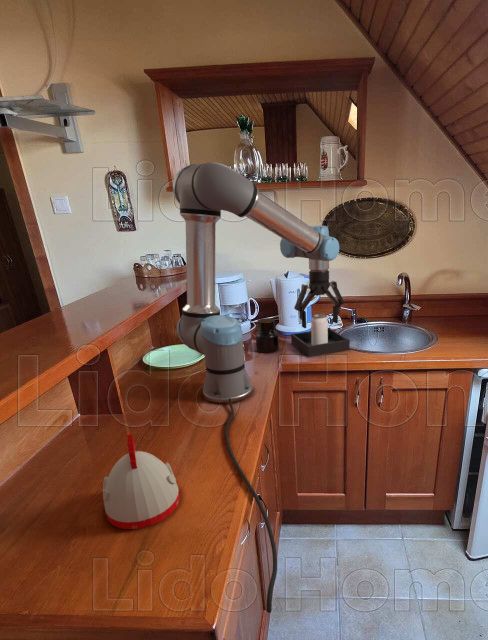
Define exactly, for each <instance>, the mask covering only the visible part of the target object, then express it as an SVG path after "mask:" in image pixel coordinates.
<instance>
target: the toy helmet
mask: <svg viewBox="0 0 488 640" xmlns="http://www.w3.org/2000/svg"><path fill="white" fill-rule="evenodd" d="M126 438H127V439H126V444H127V445H126V446H127V449H128V453H126V454H125V455H123V456H122V457H120V458H119V459H118V460H117V461H116V462H115V464H114V465H113V467H112V468H111V470H110V472H109V473H108V476H104V478H103V482H102V483H103V484H102V497H103V498H102V499H103V505H104V511H105V515H106V518H107V521H108V522H109V524H110V525H112V526H113V527H116V528H119V529H123V530H138V529H139V530H140V529H143V528H147V527H151V526H153V525H155V524H158V523H160V522H162V521H163V520H165V519H166V518H167V517H169V516H170V515H172V513H174V511H175V510H176V509H177V507H178V505H179V504H180V497H181V495H180V491H179V486H178V484H177V479H176V476H175V474H174V472H173V470H172V467H171V465H170V463H169V462H168V461H167V462H165V463H164V462H163V461H162V460H160V459H159V458H158V457H156V456H155V455H154V454H151V453H150V452H146V451H141V450H136V445H135V438H134V435H133V433H130V434H127V435H126Z"/></svg>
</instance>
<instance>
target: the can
mask: <svg viewBox="0 0 488 640" xmlns="http://www.w3.org/2000/svg"><path fill="white" fill-rule="evenodd" d="M327 317H328V316H327V315H326V314H323V313H317V314H313V315H312V316H311V319H310V320H311V321H310V322H311V323H310V326H311V327H310V328H311V330H310V331H311V335H312V345H318V344H324V343H328V329H329V322H328V318H327Z"/></svg>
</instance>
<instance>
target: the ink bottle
mask: <svg viewBox="0 0 488 640" xmlns="http://www.w3.org/2000/svg"><path fill="white" fill-rule="evenodd" d="M256 324H257V332H256V333H255V346H256V347H255V348H256V351H257V352H259V353H263V354H270V353H274V352H275V353H276V352H278V350H279V349H280V342H279V341H280V340H279V332H277V331H276V320H275V318H271V317H264V318H259V319H258V320H256Z"/></svg>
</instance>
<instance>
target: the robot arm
mask: <svg viewBox="0 0 488 640" xmlns="http://www.w3.org/2000/svg"><path fill="white" fill-rule="evenodd" d="M172 191H173V195H174V198H175V200H176V201H177V203H178V204H179V215H180V216H181V218H182V219H183V220H184V222H185V255H186V256H185V259H186V260H185V261H186V262H185V263H186V266H185V267H186V268H185V269H186V304H185V305H184V306H183V307H182V308H181V317H180V318H179V319H178V321H177V324H176V325H177V326H176V334H177V336H178V338H179V340H180V341H181V342H182V344H183V345H185V346H186V347H188V349H190V350H193V351H196V352H197V353H199V354H201V355H203V356H204V361H205V370H206V373H205V379H204V383H203V388H202V394H203V398H204V399H205V400H206V401H208V402H210V403H213V404H223V405H224V404H229V408H230V416H229V418H228V420H227V421H226V424H225V427H224V437H225V438H224V439H225V444H226V448H227V451H228V453H229V456H230V458H231V461H232V462H233V464H234V466H235V468H236V470H237V472H238V474H239V475H240V477H241V478H242V480H243V481H244V483H245V485H246V486H247V488H248V490H249V491H250V493H251V495H252V497H253V499H254V500H255V502H256V504H257V506H258V508H259V511H260V513H261V515H262V518H263V520H264V523H265V526H266V531H267V533H268V537H269V541H270V548H271V553H272V572H271V577H270V580H269V584H268V588H267V593H266V612H267V613H268V614H271V613H272V607H273V605H272V604H273V603H272V601H273V593H274V587H275V583H276V579H277V575H278V552H277V546H276V542H275V541H276V540H275V538H274V533H273V531H272V527H271V523H270V520H269V518H268V515H267V512H266V511H265V509H264V506H263V504H262V502H261V500H260V498H259V496H258V494H257V493H256V491H255V489H254V488H253V486H252V485H251V483H250V481H249V480H248V478H247V476H246V474H245V473H244V472H243V470H242V468H241V467H240V465H239V462H238V461H237V460H236V457H235V455H234V453H233V451H232V448H231V444H230V440H229V434H228V433H229V427H230V424H231V422H232V420H233V418H234V414H235V410H234V407H233V404H234V403H238V402H241V401H244V400H246V399H247V398H249V397H251V396H252V394H253V392H254V385H253V382H252V380H251V378H250V376H249V373H248V372H247V369H246V364H245V363H246V362H245V352H244V351H245V349H244V339H243V337H244V333H243V329H242V324H241V322H240V321H239V320H238V319H237V318H235V317H233V316H229V315H222V314H221V308H219V306H217V305H216V237H217V235H216V232H217V231H216V230H217V229H216V227H217V226H216V224H217V222H218V221H219V220H220V219H221V218H222V211H224V212H229V213H231V214H232V215H235V216H237V217H239V218H245V217H246V218H248V219H249V220H251V221H253V222H254V223H256V224H258V225H259V226H261V227H263V228H264V229H266V230H268V231H269V232H271V233H272V234H274V235H275V236H278V237H279V238H280V242H279V249H280V253H281V255H282V256H283V257H284V258H286V259H294V258H304V259H308V269H309V271H308V281H309V284H301V285H300V286H301V287H300V288H301V289H300V291H299V295H298V296H297V300H296V302H295V305H294V307H293V309H294V310H295V311H296V312H298V315H299V320H301V327H302V328H303V329H307V311H305V310H306V309H307V307H308V305H310V302H311V301H312V300H313V298H315V296H316V297H318V296H325V295H326V296H327V298H328V299H329V300H330V301H331V302H332V304H334V305H332V323H334V324H338V323H339V315H340V314H341V313H340V312H341V311H340V308H341V307H342V306H343V305H344V304H345V301H344V299H343V295H342V294H341V292H340V289H339V288H338V283H337V281H335V280H331V281H330V270H329V269H330V262H331V261H334V260H335V259H336V258H337V257H338V256H339V252H340V243H339V241H338V239H337V238H335V237H333V236H330V232H329V231H330V230H329V227H328V226H327V225H309V224H307V223H306V222H304V221H303V220H302V219H300V218H299V217H297V216H295V215H294V214H292V213H291V211H288V210H287V209H286V208H284V207H282V206H281V205H279V204H278V203H276V202H275V201H274V200H272V199H271V198H269V197H268V196H266V195H265V194H263V193H262V192H260V191H259V188H258V185H257V184H256V183H254V182H253V181H251V180H250V179H248V178H247V177H245V176H244V175H242V174H240V173H239V172H238V171H237V170H234V169H233V168H231V167H230V166H227V165H225V164H223V163H220V162H217V161H210V162H203V163H192V164H189V165H187V166H184V167H183V168H181V169H180V170H179V171H178V172H177V173H176V175H175V176H174V179H173V183H172ZM329 288H331V289H332V291H333V294H334V295H335V296H334V295H333V294H332V293H331V291H330V290H329ZM308 290H309V291H308ZM307 292H308V293H307Z"/></svg>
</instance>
